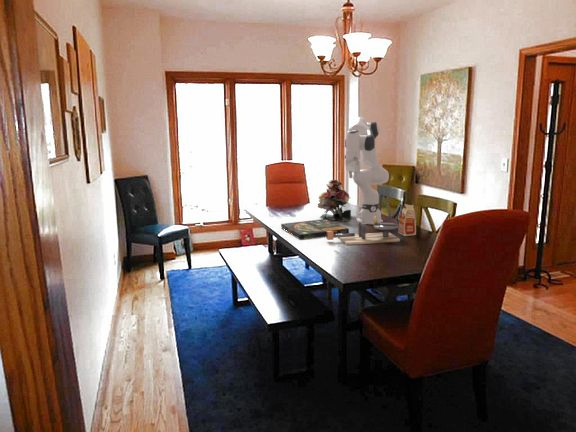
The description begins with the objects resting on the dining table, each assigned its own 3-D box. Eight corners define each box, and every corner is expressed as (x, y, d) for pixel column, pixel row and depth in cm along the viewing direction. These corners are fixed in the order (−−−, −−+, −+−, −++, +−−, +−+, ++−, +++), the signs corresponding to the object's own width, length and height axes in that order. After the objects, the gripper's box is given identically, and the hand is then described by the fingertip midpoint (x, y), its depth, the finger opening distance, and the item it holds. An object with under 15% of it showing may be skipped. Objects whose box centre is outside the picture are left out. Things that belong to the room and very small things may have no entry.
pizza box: (325, 223, 321) (325, 218, 321) (348, 233, 289) (348, 228, 289) (281, 228, 309) (281, 223, 309) (300, 240, 277) (299, 234, 277)
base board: (338, 237, 278) (337, 220, 276) (389, 234, 283) (389, 217, 281) (345, 244, 261) (345, 226, 259) (399, 241, 266) (400, 223, 263)
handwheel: (398, 224, 276) (398, 215, 275) (398, 230, 262) (398, 220, 261) (373, 224, 280) (374, 214, 279) (372, 229, 266) (372, 219, 264)
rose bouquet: (350, 214, 350) (350, 177, 344) (351, 222, 321) (351, 181, 315) (318, 214, 353) (317, 177, 346) (316, 222, 324) (316, 182, 318)
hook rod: (326, 238, 270) (326, 230, 269) (353, 236, 272) (353, 229, 271) (327, 239, 266) (327, 232, 265) (355, 238, 269) (355, 230, 268)
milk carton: (404, 236, 278) (405, 205, 274) (397, 232, 287) (398, 202, 283) (417, 234, 280) (418, 204, 276) (409, 231, 289) (410, 201, 285)
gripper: (363, 157, 261) (362, 180, 264) (353, 155, 281) (353, 176, 283) (352, 158, 260) (352, 181, 263) (343, 155, 280) (343, 177, 283)
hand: (352, 178), depth 273 cm, fingers open, 8 cm apart
